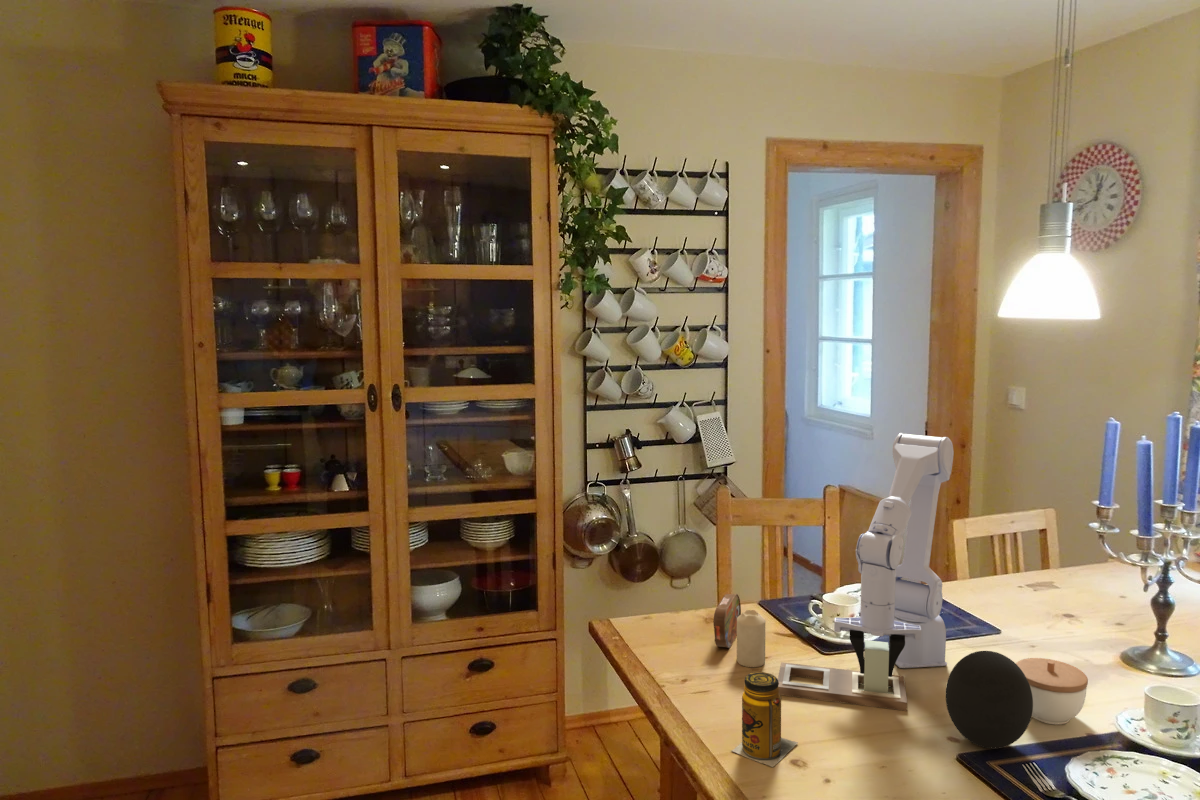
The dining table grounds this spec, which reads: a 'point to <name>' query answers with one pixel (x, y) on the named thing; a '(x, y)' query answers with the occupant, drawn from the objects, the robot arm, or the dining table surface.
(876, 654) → the peg
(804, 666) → the socket board
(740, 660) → the candle
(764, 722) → the condiment
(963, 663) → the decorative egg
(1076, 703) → the lidded jar
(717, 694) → the dining table surface
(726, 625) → the tin
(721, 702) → the dining table surface
